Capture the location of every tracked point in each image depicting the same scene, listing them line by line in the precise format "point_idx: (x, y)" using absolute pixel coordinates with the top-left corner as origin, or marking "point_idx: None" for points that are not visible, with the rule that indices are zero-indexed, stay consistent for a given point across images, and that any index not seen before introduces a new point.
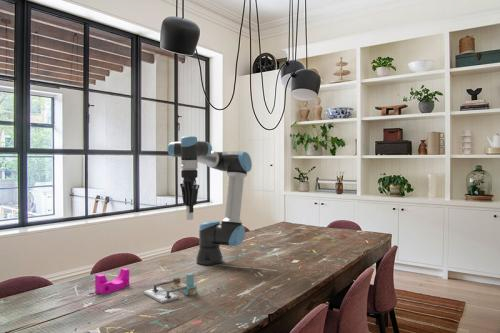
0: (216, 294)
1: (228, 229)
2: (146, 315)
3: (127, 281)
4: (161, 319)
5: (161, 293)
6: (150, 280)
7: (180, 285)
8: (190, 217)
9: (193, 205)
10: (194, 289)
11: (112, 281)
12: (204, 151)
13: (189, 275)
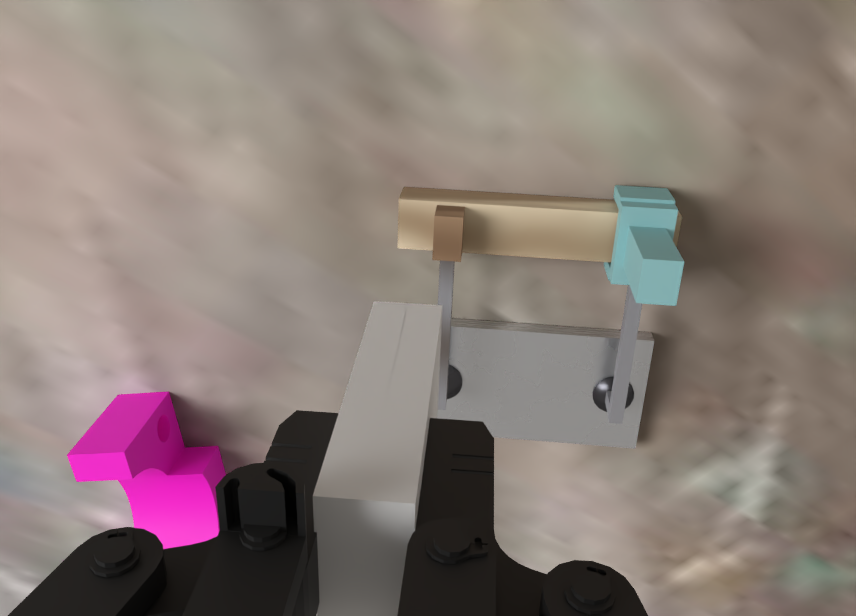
0: (804, 89)
1: None
2: (706, 565)
3: (159, 415)
4: (814, 548)
5: (521, 384)
6: (162, 249)
7: (531, 250)
8: (436, 391)
9: (506, 560)
10: (680, 226)
11: (141, 499)
12: None
13: (676, 300)
